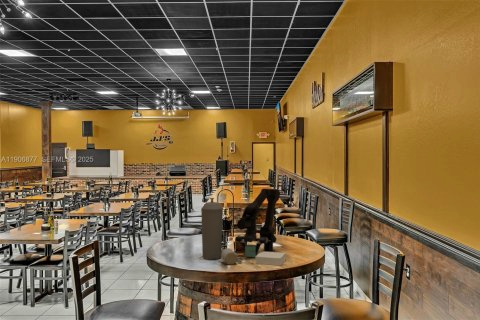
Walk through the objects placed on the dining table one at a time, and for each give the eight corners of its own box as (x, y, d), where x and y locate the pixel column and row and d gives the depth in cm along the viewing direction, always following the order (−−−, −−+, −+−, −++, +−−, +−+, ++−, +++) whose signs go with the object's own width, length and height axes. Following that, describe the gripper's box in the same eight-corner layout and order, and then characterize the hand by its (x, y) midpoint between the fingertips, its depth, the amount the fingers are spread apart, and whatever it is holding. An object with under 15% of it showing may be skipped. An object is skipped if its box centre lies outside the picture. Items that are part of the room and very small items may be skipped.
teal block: (248, 254, 258) (248, 244, 258) (257, 255, 256) (257, 245, 256) (245, 256, 252) (245, 246, 252) (254, 257, 250) (254, 246, 250)
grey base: (262, 258, 250) (262, 251, 250) (285, 259, 245) (285, 252, 245) (255, 263, 236) (255, 256, 236) (280, 265, 232) (280, 258, 232)
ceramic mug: (225, 265, 232) (225, 251, 233) (220, 262, 240) (221, 248, 240) (243, 264, 236) (243, 250, 236) (238, 261, 244) (239, 247, 244)
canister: (198, 260, 245) (198, 198, 245) (203, 255, 258) (203, 196, 258) (220, 260, 244) (220, 199, 244) (224, 255, 256) (224, 197, 256)
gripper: (232, 228, 249) (232, 255, 249) (263, 230, 243) (263, 258, 243) (238, 226, 260) (238, 252, 260) (268, 227, 254) (268, 254, 254)
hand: (251, 254), depth 254 cm, fingers closed on teal block, 6 cm apart
